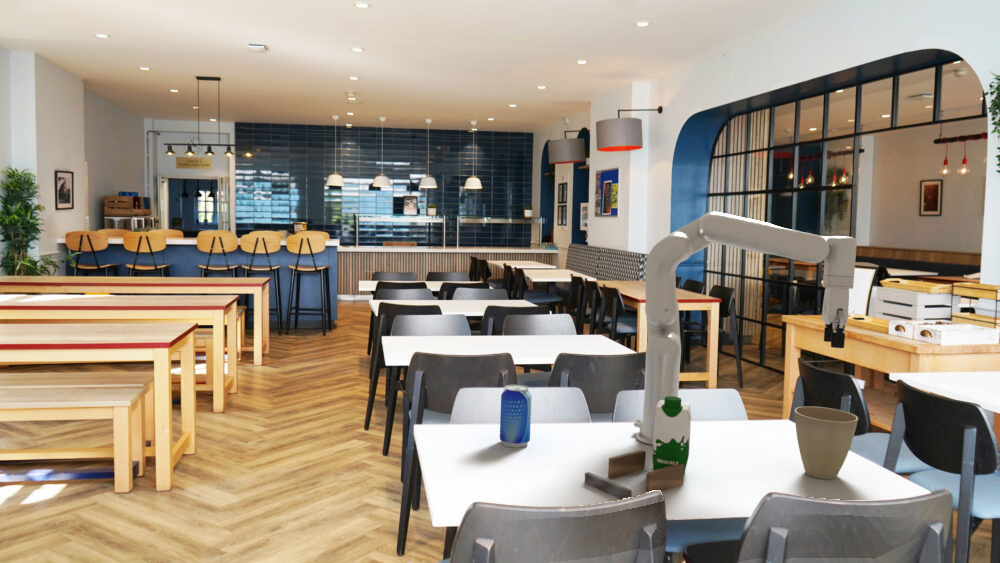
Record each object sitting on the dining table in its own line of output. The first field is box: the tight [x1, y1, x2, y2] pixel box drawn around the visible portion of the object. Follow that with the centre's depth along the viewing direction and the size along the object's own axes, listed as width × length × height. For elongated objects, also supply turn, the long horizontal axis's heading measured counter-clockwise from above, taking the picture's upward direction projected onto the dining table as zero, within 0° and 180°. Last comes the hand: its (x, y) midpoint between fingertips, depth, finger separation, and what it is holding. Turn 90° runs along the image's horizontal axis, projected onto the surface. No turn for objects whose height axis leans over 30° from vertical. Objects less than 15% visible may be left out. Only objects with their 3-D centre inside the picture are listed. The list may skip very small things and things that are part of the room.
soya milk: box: [652, 396, 692, 474], centre depth 190 cm, size 9×9×20 cm
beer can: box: [499, 384, 533, 448], centre depth 211 cm, size 8×8×16 cm
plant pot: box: [794, 406, 859, 480], centre depth 195 cm, size 15×15×16 cm
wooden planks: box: [584, 449, 685, 500], centre depth 183 cm, size 14×20×5 cm
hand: (833, 344), depth 207 cm, fingers open, 9 cm apart
